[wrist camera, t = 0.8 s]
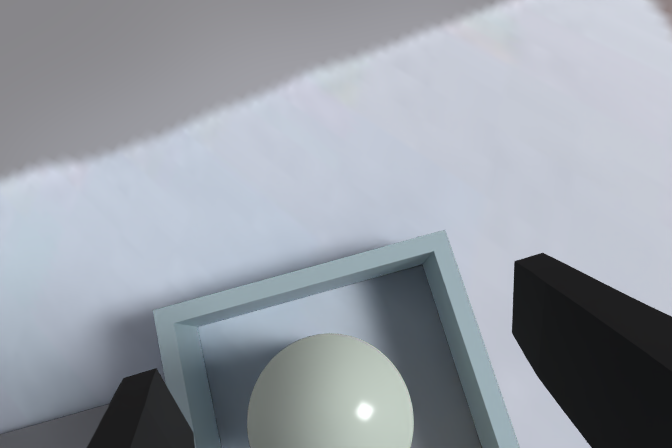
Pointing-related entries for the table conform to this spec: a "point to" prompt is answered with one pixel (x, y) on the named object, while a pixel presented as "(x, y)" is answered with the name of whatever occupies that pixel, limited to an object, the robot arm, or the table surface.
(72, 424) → the coaster
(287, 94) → the table surface
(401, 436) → the pale tapered cylinder
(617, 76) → the table surface
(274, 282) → the tray
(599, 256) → the table surface
